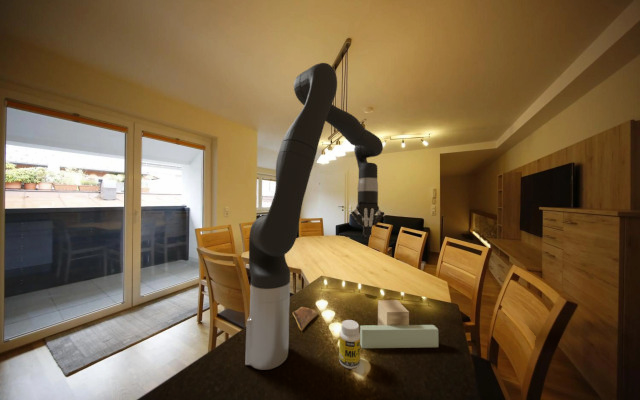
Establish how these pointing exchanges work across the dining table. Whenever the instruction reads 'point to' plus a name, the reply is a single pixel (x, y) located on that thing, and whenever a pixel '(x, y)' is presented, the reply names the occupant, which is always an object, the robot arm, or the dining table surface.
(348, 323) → the supplement bottle
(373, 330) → the sage fence board
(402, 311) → the birch block
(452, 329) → the dining table surface
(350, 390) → the dining table surface
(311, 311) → the shard
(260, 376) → the dining table surface
